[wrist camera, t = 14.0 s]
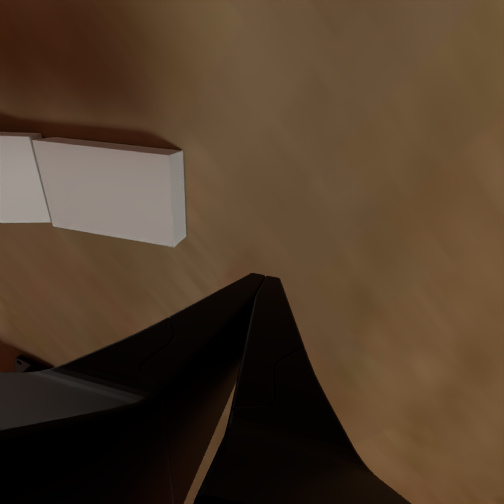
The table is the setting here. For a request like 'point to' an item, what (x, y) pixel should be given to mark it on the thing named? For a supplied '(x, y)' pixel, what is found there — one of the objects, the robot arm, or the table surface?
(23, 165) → the domino
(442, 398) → the table surface
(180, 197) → the domino
